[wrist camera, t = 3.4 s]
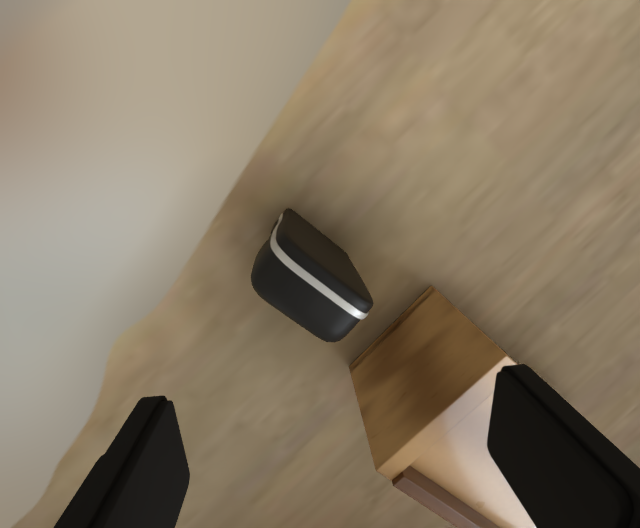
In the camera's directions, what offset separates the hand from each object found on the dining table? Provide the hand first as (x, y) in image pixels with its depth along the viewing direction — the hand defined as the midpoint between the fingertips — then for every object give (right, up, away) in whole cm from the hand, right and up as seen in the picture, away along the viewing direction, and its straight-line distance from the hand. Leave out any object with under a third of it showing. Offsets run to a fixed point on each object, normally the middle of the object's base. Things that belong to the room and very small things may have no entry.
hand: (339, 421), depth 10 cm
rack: (+14, -8, +24) cm, 29 cm away
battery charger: (-2, +6, +19) cm, 20 cm away
